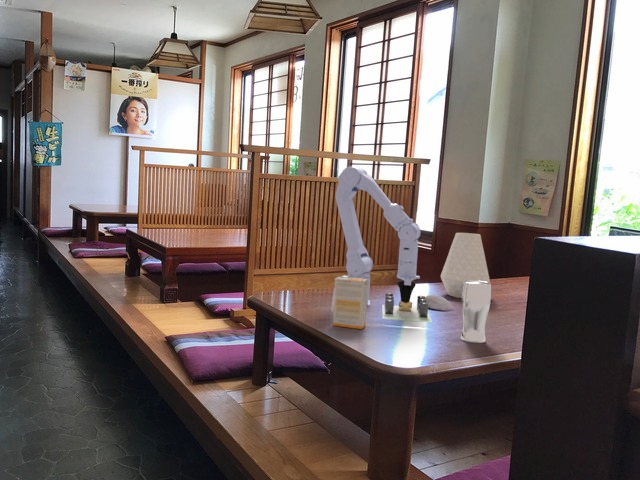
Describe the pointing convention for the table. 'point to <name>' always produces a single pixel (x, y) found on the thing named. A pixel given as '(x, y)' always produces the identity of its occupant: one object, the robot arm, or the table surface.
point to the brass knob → (405, 306)
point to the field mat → (405, 315)
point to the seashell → (438, 303)
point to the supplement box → (350, 302)
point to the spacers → (421, 305)
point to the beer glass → (475, 310)
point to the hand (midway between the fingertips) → (404, 304)
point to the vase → (464, 263)
